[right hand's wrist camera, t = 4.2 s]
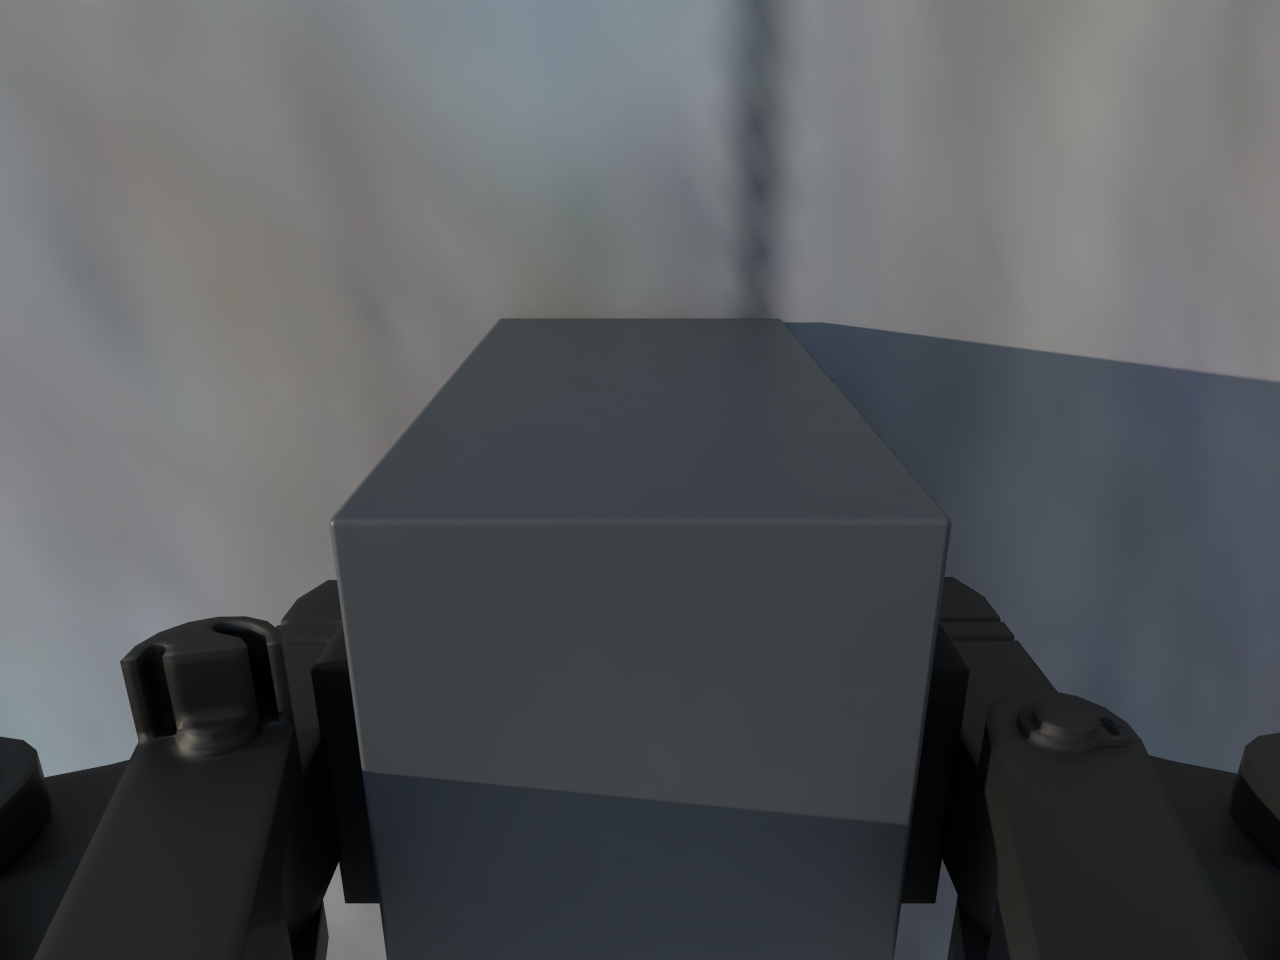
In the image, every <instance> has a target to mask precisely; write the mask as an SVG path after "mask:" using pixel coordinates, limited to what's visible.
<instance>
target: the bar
mask: <svg viewBox="0 0 1280 960" xmlns="http://www.w3.org/2000/svg"><path fill="white" fill-rule="evenodd" d="M330 530H331V538H332V545H333V553H334V561H335V568H336V576H337V583H338V591H339V599H340V606H341V614H342V621H343V629H344V637H345V644H346V652H347V659H348V667H349V675H350V682H351V690H352V697H353V705H354V713H355V720H356V728H357V735H358V743H359V751H360V758H361V766H362V773H363V781H364V789H365V796H366V804H367V811H368V819H369V827H370V834H371V842H372V849H373V857H374V864H375V872H376V880H377V887H378V895H379V902H380V910H381V918H382V925H383V933H384V940H385V948H386V956H387V960H894V953H895V945H896V938H897V930H898V923H899V915H900V908H901V900H902V892H903V885H904V877H905V870H906V862H907V855H908V847H909V840H910V832H911V824H912V817H913V809H914V802H915V794H916V787H917V779H918V772H919V764H920V756H921V749H922V741H923V734H924V726H925V719H926V711H927V704H928V696H929V688H930V681H931V673H932V666H933V658H934V651H935V643H936V636H937V628H938V620H939V613H940V605H941V598H942V590H943V583H944V575H945V567H946V560H947V552H948V545H949V537H950V530H951V521H950V518H949V517H948V516H947V515H946V513H945V512H944V511H943V510H942V509H941V508H940V506H939V505H938V504H937V503H936V502H935V501H934V499H933V498H932V497H931V496H930V495H929V493H928V492H927V491H926V490H925V489H924V488H923V486H922V485H921V484H920V483H919V482H918V481H917V479H916V478H915V477H914V476H913V475H912V473H911V472H910V471H909V470H908V469H907V468H906V466H905V465H904V464H903V463H902V462H901V461H900V459H899V458H898V457H897V456H896V455H895V453H894V452H893V451H892V450H891V449H890V448H889V446H888V445H887V444H886V443H885V442H884V441H883V439H882V438H881V437H880V436H879V435H878V433H877V432H876V431H875V430H874V429H873V428H872V426H871V425H870V424H869V423H868V422H867V421H866V419H865V418H864V417H863V416H862V415H861V413H860V412H859V411H858V410H857V409H856V408H855V406H854V405H853V404H852V403H851V402H850V401H849V399H848V398H847V397H846V396H845V395H844V393H843V392H842V391H841V390H840V389H839V388H838V386H837V385H836V384H835V383H834V382H833V381H832V379H831V378H830V377H829V376H828V375H827V373H826V372H825V371H824V370H823V369H822V368H821V366H820V365H819V364H818V363H817V362H816V361H815V359H814V358H813V357H812V356H811V355H810V353H809V352H808V351H807V350H806V349H805V348H804V346H803V345H802V344H801V343H800V342H799V341H798V339H797V338H796V337H795V336H794V335H793V333H792V332H791V331H790V330H789V329H788V328H787V326H786V325H785V324H784V323H783V322H782V321H781V320H780V319H500V320H499V321H498V322H497V323H496V324H495V325H494V326H493V328H492V329H491V330H490V331H489V332H488V334H487V335H486V336H485V337H484V338H483V340H482V341H481V342H480V343H479V344H478V345H477V347H476V348H475V349H474V350H473V351H472V353H471V354H470V355H469V356H468V357H467V358H466V360H465V361H464V362H463V363H462V364H461V366H460V367H459V368H458V369H457V370H456V371H455V373H454V374H453V375H452V376H451V377H450V379H449V380H448V381H447V382H446V383H445V384H444V386H443V387H442V388H441V389H440V390H439V392H438V393H437V394H436V395H435V396H434V397H433V399H432V400H431V401H430V402H429V403H428V405H427V406H426V407H425V408H424V409H423V410H422V412H421V413H420V414H419V415H418V416H417V418H416V419H415V420H414V421H413V422H412V424H411V425H410V426H409V427H408V428H407V429H406V431H405V432H404V433H403V434H402V435H401V437H400V438H399V439H398V440H397V441H396V442H395V444H394V445H393V446H392V447H391V448H390V450H389V451H388V452H387V453H386V454H385V455H384V457H383V458H382V459H381V460H380V461H379V463H378V464H377V465H376V466H375V467H374V468H373V470H372V471H371V472H370V473H369V474H368V476H367V477H366V478H365V479H364V480H363V481H362V483H361V484H360V485H359V486H358V487H357V489H356V490H355V491H354V492H353V493H352V494H351V496H350V497H349V498H348V499H347V500H346V502H345V503H344V504H343V505H342V506H341V507H340V509H339V510H338V511H337V512H336V513H335V515H334V516H333V517H332V518H331V521H330Z"/></svg>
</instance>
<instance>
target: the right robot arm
mask: <svg viewBox="0 0 1280 960" xmlns="http://www.w3.org/2000/svg"><path fill="white" fill-rule="evenodd" d="M120 663H121V667H122V672H123V676H124V680H125V684H126V689H127V693H128V697H129V702H130V706H131V710H132V714H133V719H134V723H135V727H136V731H137V736H138V740H139V742H138V744H137V746H136V748H135V750H134V752H133V754H132V756H131V759H130V760H127V761H123V762H119V763H115V764H111V765H106V766H101V767H96V768H91V769H86V770H81V771H75V772H70V773H65V774H60V775H55V776H50V777H45V778H44V775H43V771H42V768H41V764H40V761H39V757H38V754H37V750H35V749H34V748H33V747H32V746H30V745H29V744H28V743H26V742H25V741H24V740H19V739H12V738H6V737H0V960H326V955H327V946H328V938H329V936H328V929H327V922H326V916H325V909H324V903H323V898H324V896H325V893H326V891H327V888H328V886H329V884H330V881H331V879H332V877H333V874H334V872H335V870H336V867H337V865H338V863H339V864H340V871H341V877H342V884H343V891H344V897H345V903H380V902H379V895H378V887H377V880H376V872H375V864H374V857H373V849H372V842H371V834H370V827H369V819H368V811H367V804H366V796H365V789H364V781H363V773H362V766H361V758H360V751H359V743H358V735H357V728H356V720H355V713H354V705H353V697H352V690H351V682H350V675H349V667H348V659H347V652H346V644H345V637H344V629H343V621H342V614H341V606H340V599H339V591H338V583H337V580H328V581H326V582H324V583H323V584H321V585H320V586H318V587H316V588H315V589H313V590H311V591H310V592H308V593H307V594H305V595H303V596H302V597H300V598H299V599H297V601H296V602H295V603H294V605H293V606H292V607H291V608H290V610H289V611H288V612H287V614H286V615H285V616H284V618H283V619H282V620H281V625H277V627H274V626H273V625H272V624H270V623H269V622H267V621H264V620H259V619H255V618H250V617H246V616H242V617H215V618H209V619H204V620H198V621H193V622H188V623H185V624H182V625H179V626H176V627H173V628H171V629H168V630H165V631H162V632H159V633H157V634H156V635H154V636H152V637H150V638H149V639H147V640H145V641H143V642H142V643H140V644H138V645H136V646H135V647H134V648H133V649H132V650H131V651H130V652H129V653H128V654H127V655H126V656H125V657H124V658H123V659H122V660H121V661H120ZM942 859H943V861H944V864H945V866H946V868H947V871H948V873H949V875H950V878H951V880H952V882H953V885H954V887H955V889H956V892H957V894H958V897H957V903H956V909H955V916H954V922H953V928H952V934H951V941H950V947H949V953H948V959H947V960H1280V733H1276V734H1270V735H1263V736H1258V737H1257V738H1256V739H1254V740H1253V741H1252V742H1250V743H1249V744H1248V745H1246V746H1245V749H1244V753H1243V756H1242V760H1241V763H1240V767H1239V770H1238V774H1236V773H1231V772H1225V771H1220V770H1215V769H1210V768H1205V767H1200V766H1195V765H1190V764H1184V763H1179V762H1174V761H1170V760H1166V759H1162V758H1158V757H1154V756H1150V755H1148V753H1147V751H1146V749H1145V747H1144V745H1143V743H1142V740H1141V739H1140V738H1139V737H1138V735H1137V734H1136V733H1135V732H1134V730H1133V729H1132V728H1131V727H1130V726H1129V724H1128V723H1127V722H1125V721H1124V720H1122V719H1121V718H1119V717H1118V716H1116V715H1115V714H1113V713H1112V712H1110V711H1109V710H1107V709H1106V708H1104V707H1102V706H1099V705H1097V704H1094V703H1092V702H1090V701H1087V700H1085V699H1082V698H1080V697H1077V696H1073V695H1068V694H1064V693H1059V692H1057V691H1056V689H1055V688H1054V687H1053V685H1052V684H1051V683H1050V682H1049V680H1048V679H1047V678H1046V676H1045V675H1044V674H1043V673H1042V671H1041V670H1040V669H1039V667H1038V666H1037V665H1036V663H1035V662H1034V661H1033V660H1032V658H1031V657H1030V656H1029V654H1028V653H1027V652H1026V651H1025V649H1024V648H1023V647H1022V645H1021V644H1020V643H1019V642H1018V641H1015V640H1014V635H1013V634H1012V632H1011V631H1010V630H1009V629H1008V627H1007V626H1006V625H1005V623H1004V622H1000V617H999V616H998V614H997V613H996V612H995V611H994V609H993V608H992V607H991V605H990V604H989V603H988V601H987V600H986V599H985V598H984V596H982V595H981V594H979V593H978V592H976V591H974V590H973V589H971V588H969V587H968V586H966V585H965V584H963V583H961V582H960V581H958V580H956V579H955V578H953V577H944V583H943V590H942V598H941V605H940V613H939V620H938V628H937V636H936V643H935V651H934V658H933V666H932V673H931V681H930V688H929V696H928V704H927V711H926V719H925V726H924V734H923V741H922V749H921V756H920V764H919V772H918V779H917V787H916V794H915V802H914V809H913V817H912V824H911V832H910V840H909V847H908V855H907V862H906V870H905V877H904V885H903V892H902V900H901V903H935V901H936V895H937V888H938V881H939V875H940V868H941V861H942Z"/></svg>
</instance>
